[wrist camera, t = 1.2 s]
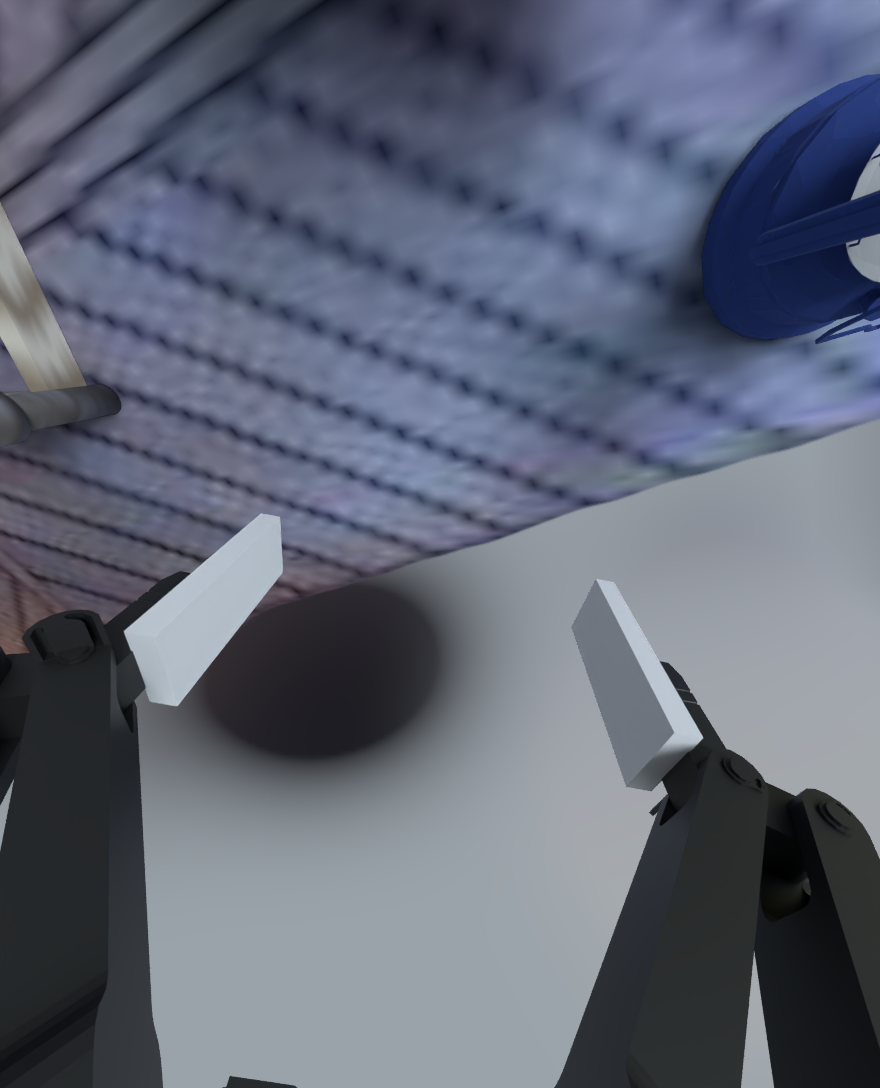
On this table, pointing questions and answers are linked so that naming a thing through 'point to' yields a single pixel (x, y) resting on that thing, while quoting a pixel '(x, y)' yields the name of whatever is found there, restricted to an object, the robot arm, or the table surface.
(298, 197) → the table surface
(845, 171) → the lantern
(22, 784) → the robot arm
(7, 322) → the bay
